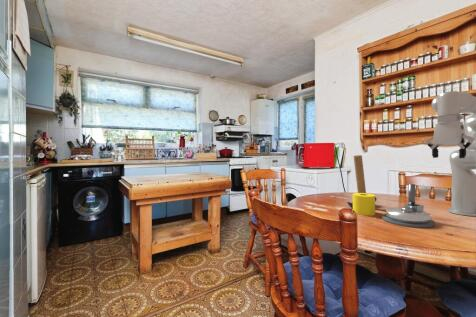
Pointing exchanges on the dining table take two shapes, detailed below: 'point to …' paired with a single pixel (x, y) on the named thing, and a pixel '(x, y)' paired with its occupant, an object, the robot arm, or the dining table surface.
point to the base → (409, 223)
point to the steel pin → (411, 194)
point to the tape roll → (364, 204)
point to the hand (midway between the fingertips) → (448, 157)
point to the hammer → (359, 176)
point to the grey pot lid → (409, 214)
